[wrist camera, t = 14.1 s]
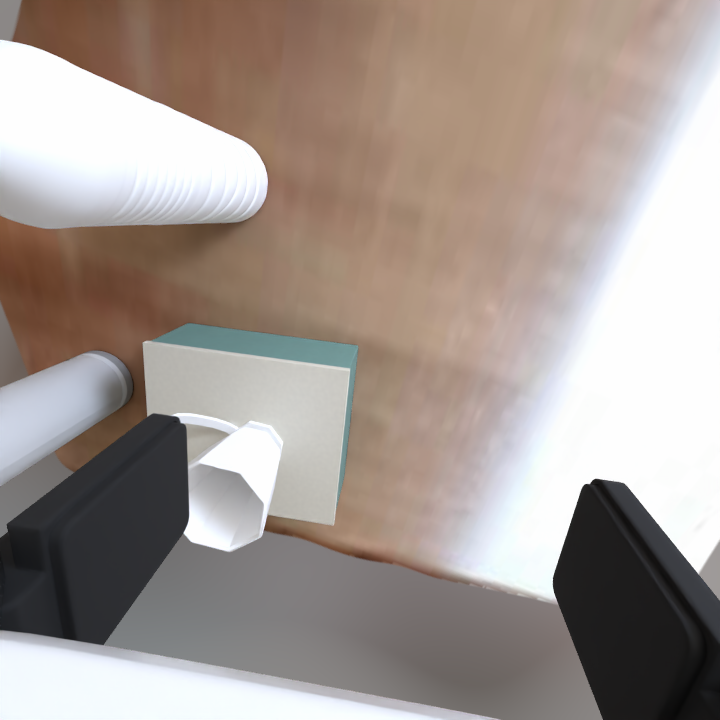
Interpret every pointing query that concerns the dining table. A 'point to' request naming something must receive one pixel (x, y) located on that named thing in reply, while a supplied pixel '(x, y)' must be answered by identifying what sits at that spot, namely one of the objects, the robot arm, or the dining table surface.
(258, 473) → the cup
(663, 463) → the dining table surface
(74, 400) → the travel mug
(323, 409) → the stand
